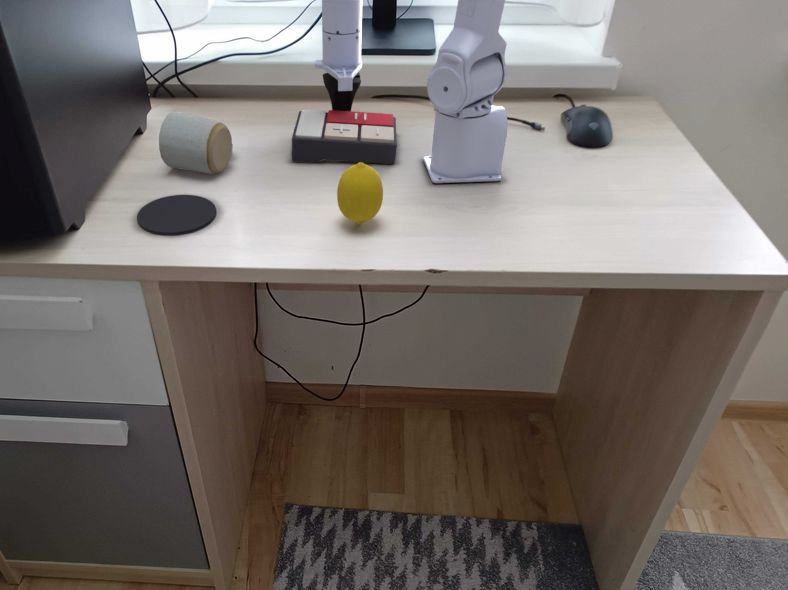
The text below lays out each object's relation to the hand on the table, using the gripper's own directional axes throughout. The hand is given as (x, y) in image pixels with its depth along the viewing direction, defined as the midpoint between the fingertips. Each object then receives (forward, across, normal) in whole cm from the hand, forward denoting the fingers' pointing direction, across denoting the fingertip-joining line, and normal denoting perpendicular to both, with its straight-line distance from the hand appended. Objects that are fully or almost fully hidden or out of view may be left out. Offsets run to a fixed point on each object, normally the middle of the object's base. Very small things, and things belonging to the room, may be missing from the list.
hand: (341, 122), depth 102 cm
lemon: (+2, +30, 0) cm, 30 cm away
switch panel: (+2, +7, 0) cm, 7 cm away
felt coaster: (+1, +26, -23) cm, 35 cm away
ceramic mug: (+2, +11, -21) cm, 24 cm away
